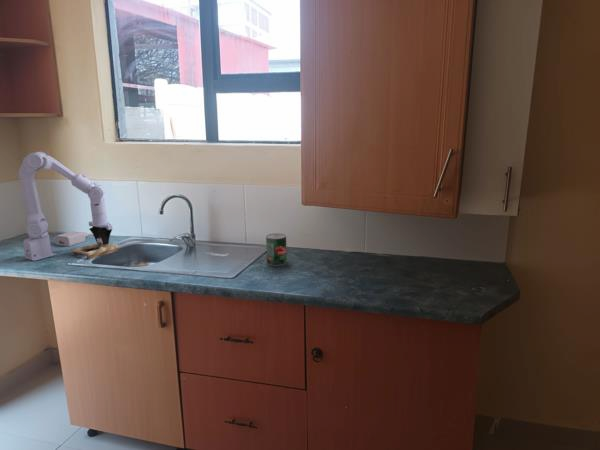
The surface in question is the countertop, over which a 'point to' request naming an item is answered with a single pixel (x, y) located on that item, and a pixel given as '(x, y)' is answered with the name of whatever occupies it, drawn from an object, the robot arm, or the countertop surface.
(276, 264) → the canned tomato
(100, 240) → the peg
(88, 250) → the keyhole plate
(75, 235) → the charger
